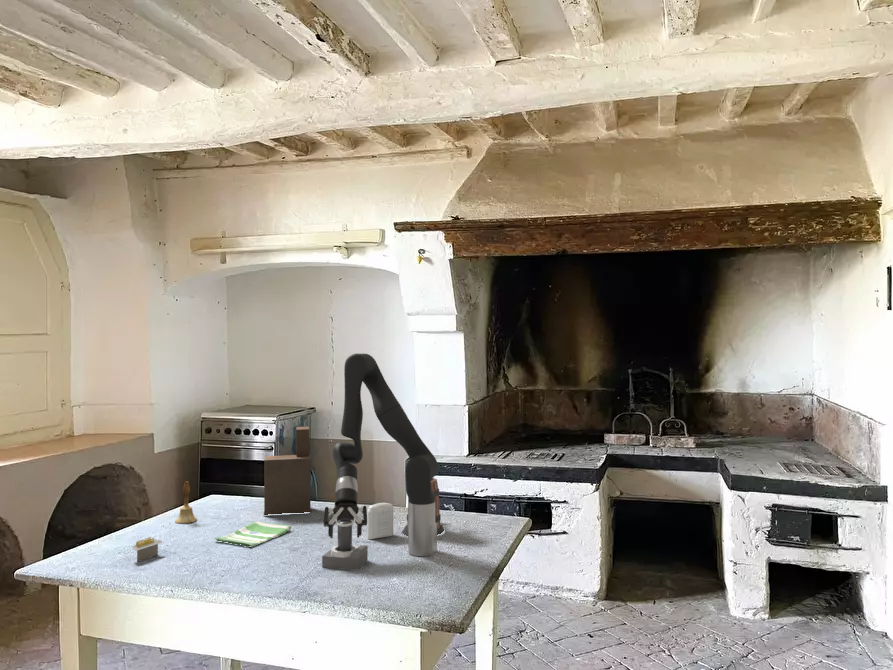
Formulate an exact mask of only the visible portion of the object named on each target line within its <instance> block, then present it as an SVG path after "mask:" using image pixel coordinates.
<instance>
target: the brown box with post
mask: <svg viewBox="0 0 893 670" xmlns="http://www.w3.org/2000/svg"><path fill="white" fill-rule="evenodd" d="M295 431H296V432H295V433H296V435H295V441H296V442H295V443H296V444H295V447H296V448H295V449H296V454H291V455H290V454H286V455H285V454H284V455H266V456H265V457H264V462H263V463H264V465H263V466H264V469H263V471H264V473H263V476H264V481H263V482H264V489H263V490H264V491H263V495H264V501H263V503H264V504H263V505H264V506H263V507H264V508H263V509H264V511H263V516H264V515H268V514H282V513H304V512H311V513H312V506H311V505H312V504H311V454H310V427H309V426H296V430H295Z"/></svg>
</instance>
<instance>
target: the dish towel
mask: <svg viewBox="0 0 893 670" xmlns="http://www.w3.org/2000/svg"><path fill="white" fill-rule="evenodd" d="M292 527H293V526H292V525H289V524H278V523H269V522H264V521H254V522H252V523H250V524H248V525H246V526H244V527H242V528H241V527H240V528H239V529H237V530H235V531H233V532H231V533H230V534H227V535H224V536H217V537H214V540H216V541H222V542H228V543H232V544H237V545H236V546H238V545H240V544H241V545H244V546H251V547H253V546H255V545H257V546H259V545H258V544H260V543H263V542H265V541H267V540H270V539H272V538H275V537H277V536H279V537H281V536H283V535H285V534H287V533H288V532H289V531H291V529H292ZM253 531H255V532H260V533H259V534H258V533H257V534H250V533H249V532H253ZM287 531H288V532H287ZM286 532H287V533H286ZM284 533H285V534H284ZM282 534H283V535H282ZM280 535H281V536H280ZM277 538H278V537H277ZM275 539H276V538H275ZM272 540H273V539H272ZM270 541H271V540H270ZM267 542H268V541H267ZM265 543H266V542H265ZM263 544H264V543H263ZM260 545H261V544H260ZM244 546H243V547H244ZM255 547H256V546H255ZM253 548H254V547H253Z"/></svg>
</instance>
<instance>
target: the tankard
mask: <svg viewBox="0 0 893 670" xmlns="http://www.w3.org/2000/svg"><path fill="white" fill-rule="evenodd" d="M431 491H432V492H434V494H435V522H436V523H437V535H438V534H441V533H442V532H443V531H444V530H445V529H444V527H443V525H442V524H441V517H442V515H441V511H440V510H441V509H440V488H439V484H438V479H437V478H436V477H433V478H431ZM406 521H407V522H406V523H407V524H406V525H405V526H404V528H403V529H402V530H401V534H402V533H403V534H404V535H406V536H405V537H407V536H408V513H407V514H406ZM403 534H402V535H403ZM404 535H403V536H404Z"/></svg>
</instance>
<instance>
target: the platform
mask: <svg viewBox="0 0 893 670" xmlns="http://www.w3.org/2000/svg"><path fill="white" fill-rule="evenodd" d="M162 541H163V540H161V539H158V540H157V539H156V540H155V537H153V538H152V537H151V536H150V537H146V538H143V539H140V540H139V539H138V540H137V541H136V542H135V545H133V546H132V549H133V551H136V554H137V555H136V562H140V561H143V560H147V559H150V558H152V557H153V558H154V557H156V556H158V555H159V544H162V543H163V542H162Z"/></svg>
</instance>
